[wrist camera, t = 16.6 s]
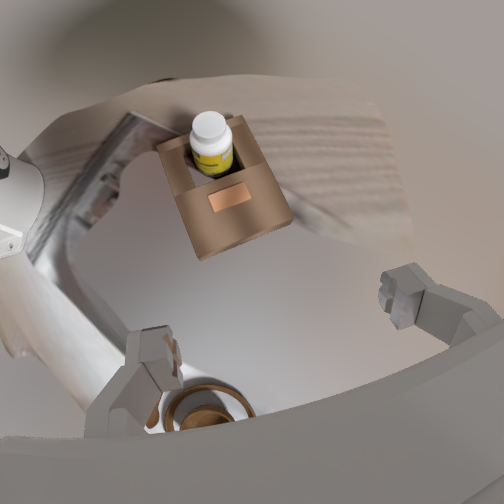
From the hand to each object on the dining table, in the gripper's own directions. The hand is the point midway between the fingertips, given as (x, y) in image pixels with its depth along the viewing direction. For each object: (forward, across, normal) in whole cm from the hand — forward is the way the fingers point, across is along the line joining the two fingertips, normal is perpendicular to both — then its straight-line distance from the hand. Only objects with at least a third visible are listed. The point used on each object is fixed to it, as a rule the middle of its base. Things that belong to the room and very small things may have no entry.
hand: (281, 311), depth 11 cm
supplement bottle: (+37, 0, +5) cm, 37 cm away
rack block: (+34, 0, +8) cm, 35 cm away
